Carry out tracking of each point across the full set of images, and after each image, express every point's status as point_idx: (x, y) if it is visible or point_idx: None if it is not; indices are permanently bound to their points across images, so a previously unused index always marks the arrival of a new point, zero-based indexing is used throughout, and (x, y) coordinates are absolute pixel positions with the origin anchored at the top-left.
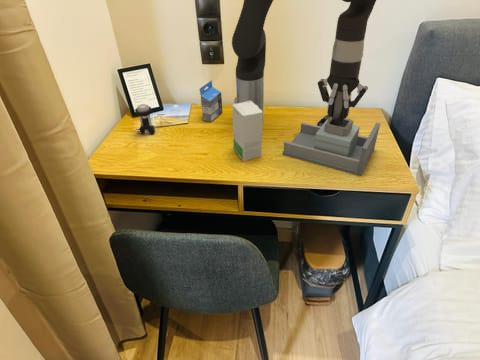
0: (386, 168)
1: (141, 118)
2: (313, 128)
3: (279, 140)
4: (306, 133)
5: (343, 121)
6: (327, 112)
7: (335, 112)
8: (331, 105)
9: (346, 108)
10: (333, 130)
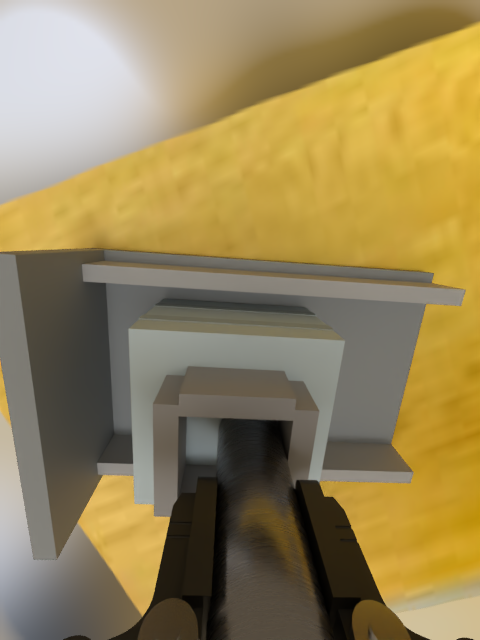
0: None
1: None
2: (351, 463)
3: (454, 367)
4: (365, 440)
5: None
6: (344, 512)
7: (277, 518)
8: (349, 598)
9: (173, 598)
10: (249, 382)
